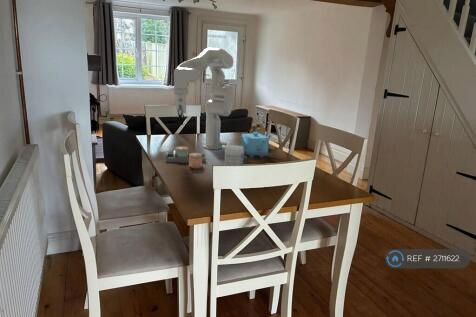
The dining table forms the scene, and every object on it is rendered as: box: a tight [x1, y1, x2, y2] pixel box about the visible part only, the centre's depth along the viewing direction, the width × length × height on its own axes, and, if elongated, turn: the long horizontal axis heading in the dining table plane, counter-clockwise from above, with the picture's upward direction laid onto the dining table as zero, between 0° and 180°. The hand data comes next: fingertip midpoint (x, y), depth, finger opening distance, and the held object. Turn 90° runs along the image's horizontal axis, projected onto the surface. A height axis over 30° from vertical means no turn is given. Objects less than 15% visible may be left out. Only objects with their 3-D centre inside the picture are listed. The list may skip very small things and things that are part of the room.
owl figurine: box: [248, 121, 266, 136], centre depth 246 cm, size 18×12×17 cm, turn 24°
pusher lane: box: [165, 151, 206, 164], centre depth 203 cm, size 22×9×4 cm, turn 99°
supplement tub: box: [224, 144, 245, 166], centre depth 181 cm, size 10×10×15 cm
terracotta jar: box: [188, 152, 203, 169], centre depth 192 cm, size 7×7×7 cm
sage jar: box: [175, 146, 189, 158], centre depth 202 cm, size 7×7×7 cm
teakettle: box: [237, 132, 273, 159], centre depth 221 cm, size 19×19×15 cm
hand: (180, 123), depth 196 cm, fingers open, 9 cm apart
